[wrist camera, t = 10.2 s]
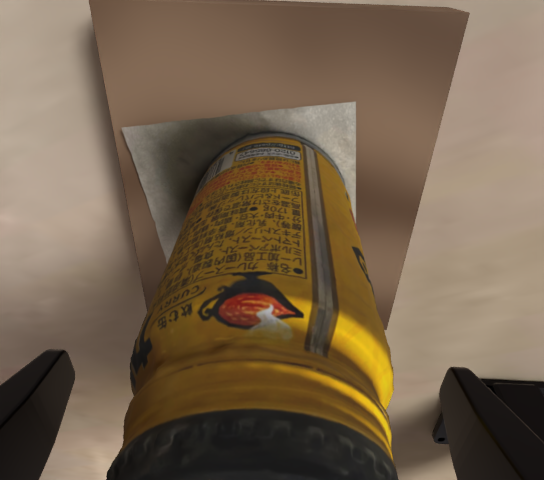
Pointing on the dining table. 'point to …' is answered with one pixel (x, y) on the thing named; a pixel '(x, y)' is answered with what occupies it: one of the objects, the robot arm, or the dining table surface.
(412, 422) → the dining table surface
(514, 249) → the dining table surface
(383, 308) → the stand
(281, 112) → the condiment
